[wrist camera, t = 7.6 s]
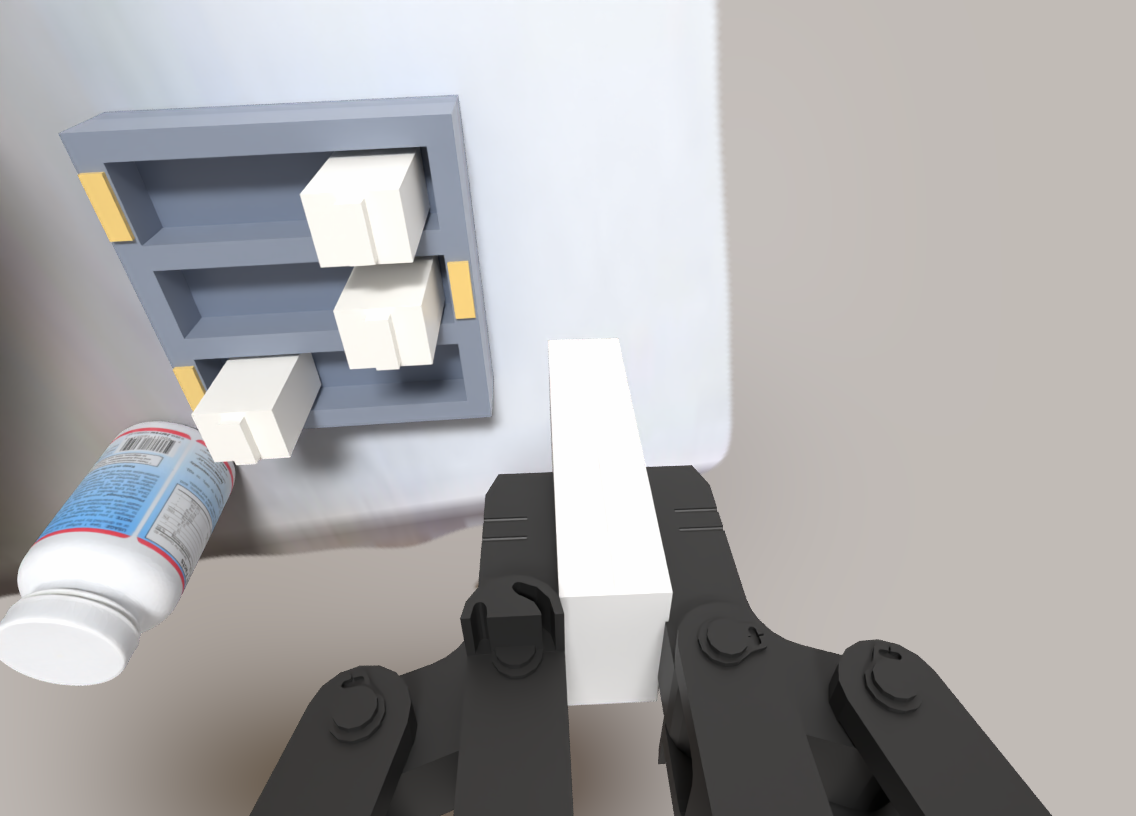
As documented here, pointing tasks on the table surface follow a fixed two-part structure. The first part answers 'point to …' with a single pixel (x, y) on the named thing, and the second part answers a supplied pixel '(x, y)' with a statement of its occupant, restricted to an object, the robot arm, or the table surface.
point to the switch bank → (282, 244)
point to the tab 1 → (257, 407)
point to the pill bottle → (115, 556)
